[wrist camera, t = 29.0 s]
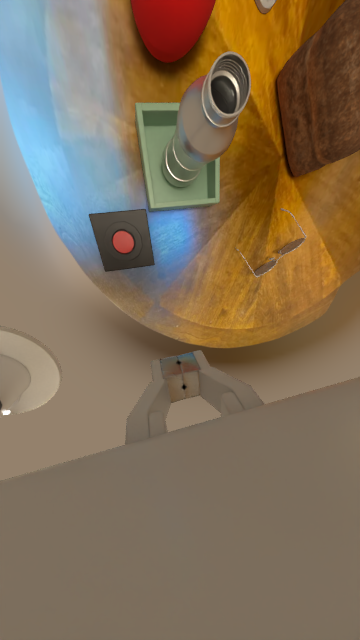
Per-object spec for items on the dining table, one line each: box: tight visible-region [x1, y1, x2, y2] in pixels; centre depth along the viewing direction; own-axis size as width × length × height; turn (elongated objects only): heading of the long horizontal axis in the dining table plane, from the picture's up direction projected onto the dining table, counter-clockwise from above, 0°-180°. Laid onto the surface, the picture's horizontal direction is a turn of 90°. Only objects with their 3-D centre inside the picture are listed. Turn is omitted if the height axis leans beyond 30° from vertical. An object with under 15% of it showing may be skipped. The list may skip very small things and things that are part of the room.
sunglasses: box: [237, 209, 306, 277], centre depth 40 cm, size 14×8×5 cm, turn 129°
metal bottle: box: [162, 52, 251, 187], centre depth 23 cm, size 6×7×20 cm
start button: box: [113, 231, 134, 253], centre depth 32 cm, size 4×4×2 cm
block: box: [89, 209, 154, 272], centre depth 34 cm, size 10×10×4 cm
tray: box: [135, 103, 220, 212], centre depth 30 cm, size 13×13×5 cm
